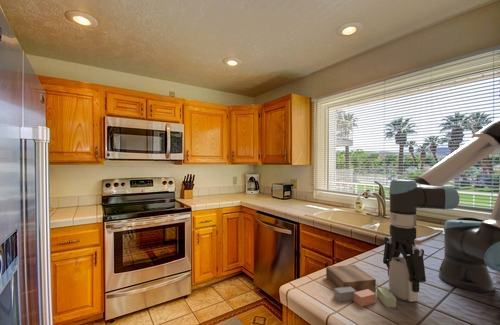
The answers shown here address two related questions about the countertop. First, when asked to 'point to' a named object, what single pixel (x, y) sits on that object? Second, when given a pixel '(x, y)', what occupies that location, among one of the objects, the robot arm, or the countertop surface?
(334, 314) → the countertop surface
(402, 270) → the can
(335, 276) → the walnut block
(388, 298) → the brick sage
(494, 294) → the countertop surface
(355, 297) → the brick terracotta
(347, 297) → the brick slate
